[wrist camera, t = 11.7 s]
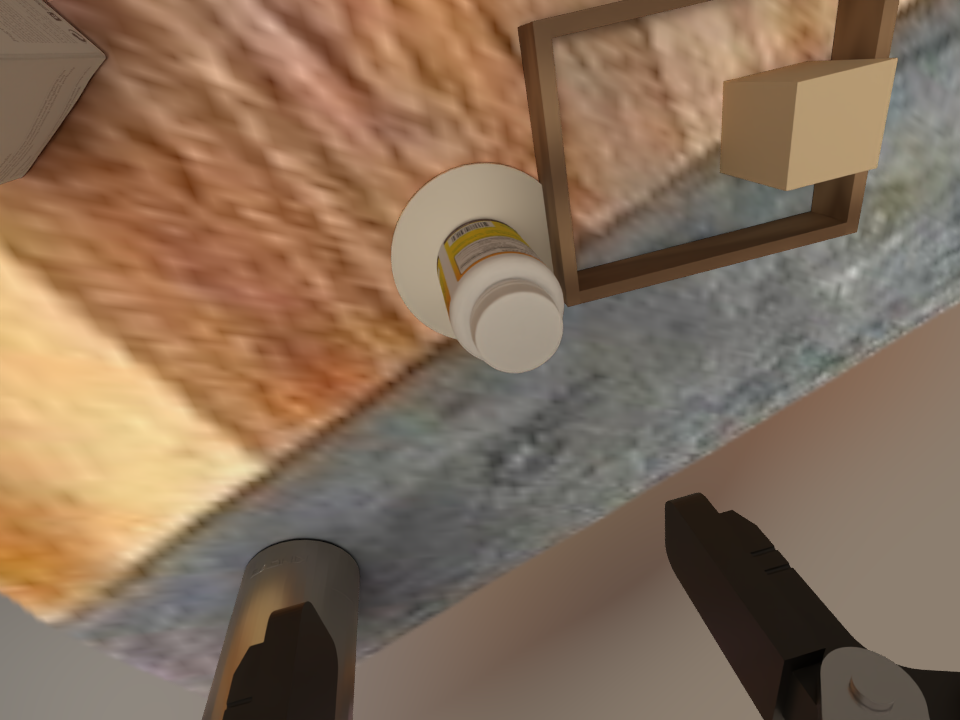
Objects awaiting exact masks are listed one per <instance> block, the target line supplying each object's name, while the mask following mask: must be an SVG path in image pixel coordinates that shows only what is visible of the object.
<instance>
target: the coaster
mask: <svg viewBox="0 0 960 720" xmlns="http://www.w3.org/2000/svg"><path fill="white" fill-rule="evenodd" d="M479 218H488V219H495V220H498V221H501V222H503V223H505V224H507V225H509V226H510V227H511V228H513V229H514V230H515V231H516V232H517V233H518V234H519V235H520V236H521V238H522V239H523V240H524V241H525V242H526V243H527V244H528V245H529V247H530V248H531V249H532V250H533V251H534V252H535V253H536V255H537V256H538V257H539V258H540V259H541V260H542V261H543V263H544V264H545V265H546V266H547V267H548V268H549V269H550V270H551V272H552V273H553V274H554V272H553V264H552V257H551V249H550V242H549V235H548V227H547V220H546V212H545V205H544V198H543V190H542V184H540V183H539V182H538V181H537V180H535V179H534V178H532V177H531V176H529V175H527V174H526V173H524V172H522V171H520V170H518V169H515V168H513V167H510V166H506V165H502V164H496V163H471V164H466V165H461V166H458V167H455V168H452V169H449V170H447V171H445V172H443V173H441V174H439V175H437V176H436V177H434V178H433V179H431V180H429V181H428V182H427V183H426V184H424V185H423V186H422V187H421V188H420V189H419V190H418V191H417V192H416V193H415V194H414V195H413V197H412V198H411V199H410V200H409V202H408V203H407V205H406V206H405V208H404V209H403V211H402V213H401V215H400V217H399V219H398V221H397V224H396V227H395V231H394V234H393V240H392V247H391V263H392V272H393V276H394V281H395V284H396V287H397V289H398V292H399V294H400V296H401V298H402V300H403V301H404V303H405V304H406V306H407V307H408V309H409V310H410V311H411V312H412V313H413V314H414V315H415V317H416V318H417V319H418V320H420V321H421V322H422V323H423V324H425V325H426V326H427V327H429V328H431V329H432V330H434V331H436V332H438V333H440V334H442V335H445V336H447V337H451V338H454V339H457V338H456V336H455V334H454V332H453V329H452V326H451V323H450V320H449V316H448V312H447V308H446V305H445V301H444V297H443V294H442V290H441V286H440V283H439V279H438V275H437V256H438V252H439V249H440V247H441V245H442V243H443V241H444V240H445V238H446V237H447V236H448V235H449V233H450V232H451V231H452V230H454V229H455V228H456V227H458V226H459V225H461V224H463V223H465V222H467V221H470V220H474V219H479Z"/></svg>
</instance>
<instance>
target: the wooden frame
mask: <svg viewBox="0 0 960 720" xmlns="http://www.w3.org/2000/svg"><path fill="white" fill-rule="evenodd" d="M706 1H711V0H623V1H619V2H614V3H610V4H606V5H602V6H597V7H593V8H589V9H585V10H580V11H576V12H572V13H567V14H563V15H559V16H555V17H550V18H546V19H542V20H538V21H533V22H530V23H528V24H525V25H523V26H520V27H518V33H519V41H520V48H521V55H522V63H523V70H524V77H525V84H526V92H527V99H528V106H529V114H530V121H531V128H532V135H533V143H534V150H535V157H536V164H537V172H538V179H539V183H540V184H542V190H543V198H544V205H545V212H546V220H547V227H548V235H549V242H550V249H551V257H552V264H553V272H554V275H555V277H556V278H557V280H558V282H559V284H560V286H561V289H562V293H563V298H564V303H565V304H566V305H567V306H568V307H570V306H574V305H578V304H582V303H585V302H589V301H593V300H597V299H601V298H605V297H609V296H612V295H616V294H620V293H624V292H628V291H632V290H635V289H639V288H643V287H647V286H651V285H655V284H659V283H662V282H666V281H670V280H674V279H678V278H682V277H686V276H689V275H693V274H697V273H701V272H705V271H709V270H713V269H716V268H720V267H724V266H728V265H732V264H736V263H740V262H743V261H747V260H751V259H755V258H759V257H763V256H767V255H770V254H774V253H778V252H782V251H786V250H790V249H794V248H797V247H801V246H805V245H809V244H813V243H817V242H820V241H824V240H828V239H832V238H836V237H840V236H844V235H847V234H851V233H855V232H857V229H858V223H859V218H860V213H861V207H862V202H863V196H864V191H865V185H866V180H867V174H868V170H867V171H863V172H859V173H855V174H851V175H847V176H843V177H839V178H835V179H831V180H827V181H823V182H820V183H816V184H815V186H814V194H813V201H812V209H811V212H807V213H803V214H799V215H795V216H791V217H787V218H783V219H779V220H776V221H772V222H768V223H764V224H760V225H756V226H752V227H748V228H744V229H740V230H737V231H733V232H729V233H725V234H721V235H717V236H713V237H709V238H705V239H701V240H698V241H694V242H690V243H686V244H682V245H678V246H674V247H670V248H666V249H663V250H659V251H655V252H651V253H647V254H643V255H639V256H635V257H631V258H627V259H624V260H620V261H616V262H612V263H608V264H604V265H600V266H596V267H592V268H588V269H585V270H581V271H577V265H576V256H575V247H574V238H573V229H572V220H571V211H570V202H569V192H568V183H567V174H566V165H565V156H564V147H563V138H562V128H561V119H560V110H559V101H558V92H557V83H556V74H555V65H554V55H553V46H552V38H554V37H558V36H563V35H567V34H571V33H575V32H579V31H584V30H588V29H592V28H596V27H601V26H605V25H609V24H613V23H618V22H622V21H626V20H630V19H635V18H639V17H643V16H647V15H651V14H656V13H660V12H664V11H668V10H673V9H677V8H681V7H685V6H690V5H694V4H698V3H702V2H706ZM898 5H899V0H839V6H838V14H837V21H836V29H835V36H834V44H833V51H832V59H831V60H856V59H882V58H889V54H890V49H891V43H892V38H893V32H894V27H895V21H896V16H897V10H898Z"/></svg>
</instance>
